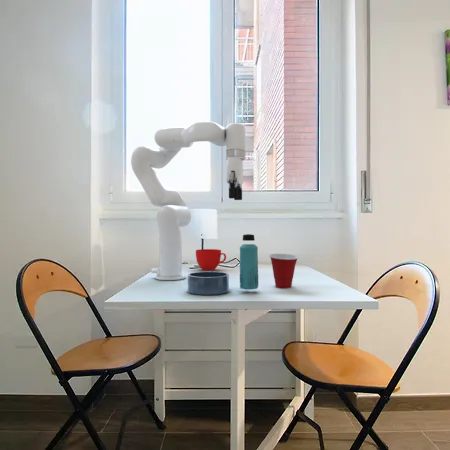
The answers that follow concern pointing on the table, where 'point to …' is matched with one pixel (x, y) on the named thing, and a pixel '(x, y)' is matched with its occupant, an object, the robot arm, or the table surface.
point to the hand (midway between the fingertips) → (235, 199)
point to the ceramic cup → (209, 258)
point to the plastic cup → (283, 269)
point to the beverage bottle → (248, 264)
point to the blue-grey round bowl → (208, 283)
